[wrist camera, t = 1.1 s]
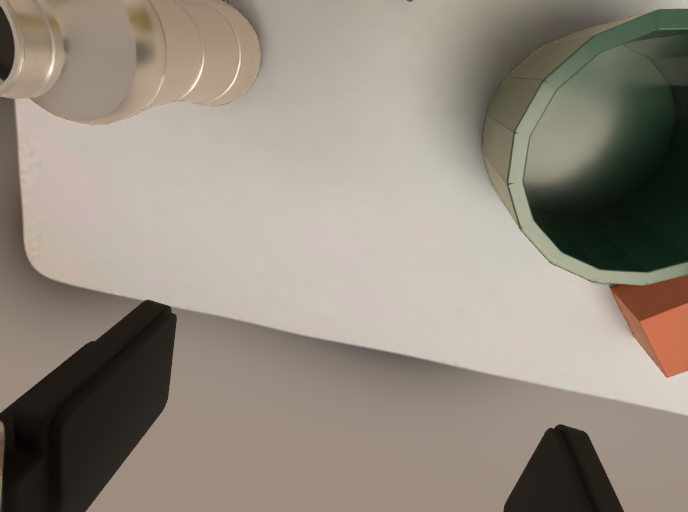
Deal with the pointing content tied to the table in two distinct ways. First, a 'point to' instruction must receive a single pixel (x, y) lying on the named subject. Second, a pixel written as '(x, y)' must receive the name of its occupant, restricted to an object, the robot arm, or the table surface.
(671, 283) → the block
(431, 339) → the table surface
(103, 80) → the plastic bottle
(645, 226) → the canister
